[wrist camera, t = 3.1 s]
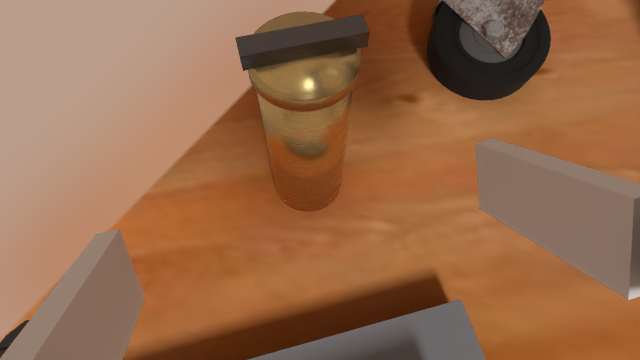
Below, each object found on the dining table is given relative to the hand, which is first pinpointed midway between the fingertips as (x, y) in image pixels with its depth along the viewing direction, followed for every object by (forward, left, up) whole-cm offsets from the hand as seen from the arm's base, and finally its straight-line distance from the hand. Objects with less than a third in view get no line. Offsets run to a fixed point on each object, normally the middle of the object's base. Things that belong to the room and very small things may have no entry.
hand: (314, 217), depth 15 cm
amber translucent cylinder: (-1, -7, -11) cm, 13 cm away
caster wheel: (-18, -15, -11) cm, 26 cm away
